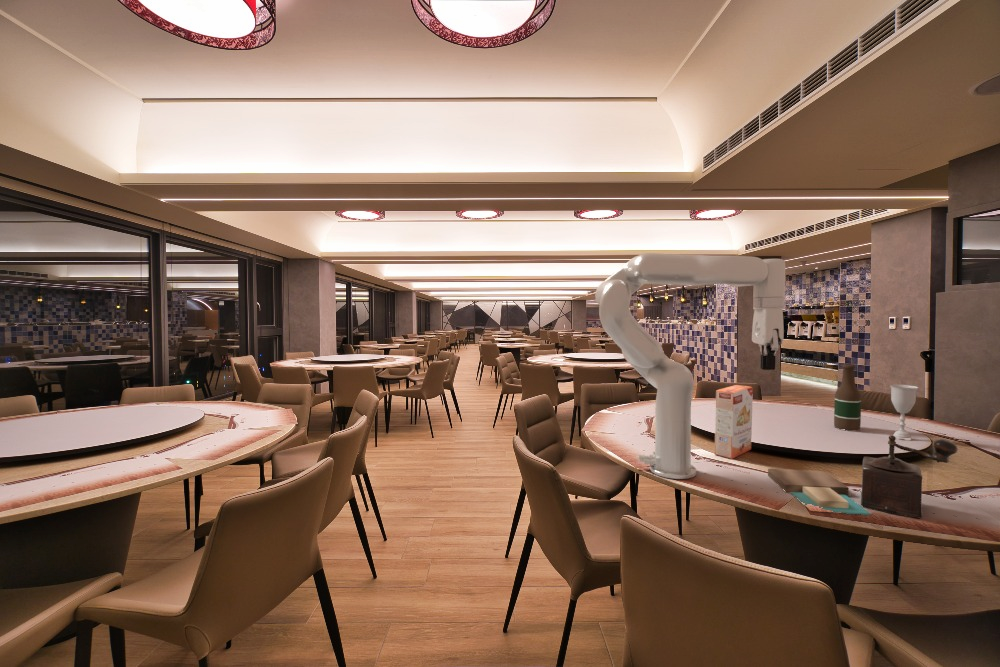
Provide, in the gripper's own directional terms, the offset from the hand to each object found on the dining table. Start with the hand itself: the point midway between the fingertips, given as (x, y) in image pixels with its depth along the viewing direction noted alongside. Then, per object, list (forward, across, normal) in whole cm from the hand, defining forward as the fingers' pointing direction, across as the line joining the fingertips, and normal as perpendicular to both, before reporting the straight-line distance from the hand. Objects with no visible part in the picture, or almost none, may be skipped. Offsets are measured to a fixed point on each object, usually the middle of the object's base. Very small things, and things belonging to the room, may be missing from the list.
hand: (767, 369), depth 124 cm
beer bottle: (+29, -48, +45) cm, 72 cm away
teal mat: (+29, +20, +6) cm, 36 cm away
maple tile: (+29, +19, +6) cm, 35 cm away
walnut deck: (+29, +10, +6) cm, 31 cm away
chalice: (+29, -37, +56) cm, 73 cm away
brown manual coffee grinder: (+29, +21, +22) cm, 42 cm away
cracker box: (+29, -15, -4) cm, 33 cm away
